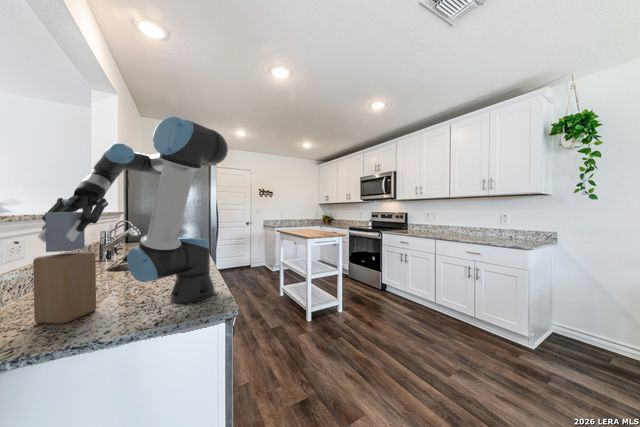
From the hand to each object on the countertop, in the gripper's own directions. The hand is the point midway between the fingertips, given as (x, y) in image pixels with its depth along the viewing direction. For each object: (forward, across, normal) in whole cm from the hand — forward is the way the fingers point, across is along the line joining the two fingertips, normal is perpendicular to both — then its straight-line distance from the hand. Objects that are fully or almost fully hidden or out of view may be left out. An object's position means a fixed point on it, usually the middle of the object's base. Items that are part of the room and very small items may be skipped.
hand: (56, 239), depth 70 cm
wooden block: (+16, 0, -21) cm, 26 cm away
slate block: (0, 0, -5) cm, 5 cm away
